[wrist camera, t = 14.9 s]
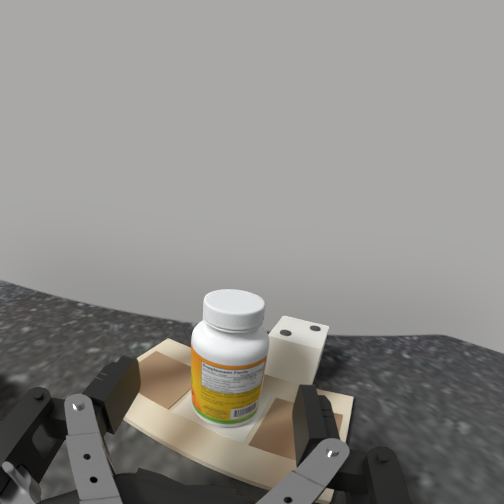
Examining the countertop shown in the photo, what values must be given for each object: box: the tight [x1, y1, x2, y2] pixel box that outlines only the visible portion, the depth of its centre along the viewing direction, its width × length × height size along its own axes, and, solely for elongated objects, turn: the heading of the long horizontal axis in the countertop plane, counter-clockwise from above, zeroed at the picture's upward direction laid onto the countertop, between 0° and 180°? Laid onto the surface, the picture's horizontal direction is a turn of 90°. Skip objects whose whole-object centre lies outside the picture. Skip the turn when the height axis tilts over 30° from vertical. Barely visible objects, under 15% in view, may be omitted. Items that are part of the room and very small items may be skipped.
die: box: [265, 316, 329, 385], centre depth 26 cm, size 5×5×5 cm
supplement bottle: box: [191, 289, 269, 427], centre depth 19 cm, size 5×5×10 cm
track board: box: [123, 339, 353, 504], centre depth 20 cm, size 20×12×1 cm, turn 68°
